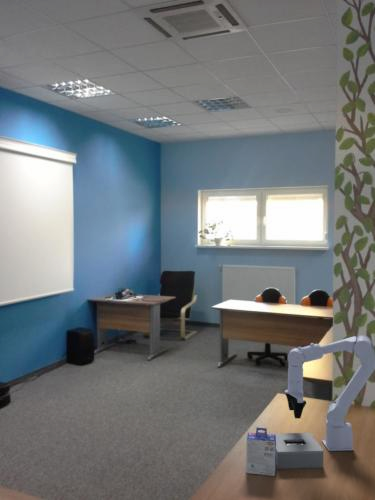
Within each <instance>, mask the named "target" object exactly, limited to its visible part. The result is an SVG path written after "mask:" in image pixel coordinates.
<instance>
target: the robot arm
mask: <svg viewBox="0 0 375 500" xmlns="http://www.w3.org/2000/svg"><path fill="white" fill-rule="evenodd" d="M342 351H343V352H344V351H346V352H348V353H350V354H353V353H354V354H355V355H356V357H358V359H359V362H360V365H359V367H358V368H357V369H356V371H355V372H354V374H353V376H352V377H351V378H350V380H349V381H348V383H347V384H346V386H345V387H344V389H343V390H342V391H341V393H340V395H339V396H338V397H336V399H335V400H334V401H333V402H331V403H330V404H329V405H328V406H327V414H326V420H325V439H322V440H321V442H322V443H323V446H325V448H326V449H327V450H328V452H336V451H337V452H338V451H339V452H341V451H343V452H344V451H354V447H353V446H354V431H353V426H352V424H351V423H350V422H346V419H345V418H346V415H347V413H348V412H349V410H350V407H351V405H352V404H353V402H354V400H355V399H356V398H357V397H358V395H359V393H360V392H361V391H362V389H363V387H364V386H365V385H366V383H367V381H368V380H369V379H370V377H371V376H372V374H373V373H374V371H375V347H374V344H373V341H372V340H371V338H370V337H369V336H367V335H365V334H364V335H363V334H361V335H357V336H355V335H354V336H350V337H346V338H344V339H339V340H337V341H334V342H330V343H326V344H324V345H321V344H319V343H314V342H311V343H310V345H306V346H304V347H303V346H302V347H301V346H298V347H297V348H296V347H294V348H292V349H291V350H289V353H288V355H287V357H286V358H287V362H288V368H287V389H285V390H284V394H285V397H286V400H287V405H288V410H289V411H293V415H294V419H301V418H302V414H303V411H304V408H305V407H306V405H307V401H306V400H304V368H303V363H309V362H313V361H316V360H320V359H323V356H325V355H327V354H332V353H337V352H338V353H339V352H342ZM353 351H354V352H353Z"/></svg>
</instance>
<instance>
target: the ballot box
mask: <svg viewBox="0 0 375 500" xmlns="http://www.w3.org/2000/svg"><path fill="white" fill-rule="evenodd" d="M272 434H273V435H276V469H278V470H281V469H282V470H283V469H285V470H287V469H289V470H290V469H311V468H312V469H313V468H314V469H315V468H317V469H320V468H321V469H322V468H323V469H324V449H323V448H322V447H321V445H320V444H319V442H318V441H317V439H316V438H315V437H314V436H313V435H314V434H312V432H292V433H291V432H290V433H289V432H288V433H286V432H285V433H284V432H282V433H272ZM286 443H303V444H293V445H286Z"/></svg>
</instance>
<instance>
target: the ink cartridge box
mask: <svg viewBox="0 0 375 500" xmlns="http://www.w3.org/2000/svg"><path fill="white" fill-rule="evenodd" d="M255 429H256V430H255V432H248V433H247V436H246V474H251V475H253V474H254V475H262V476H269V477H270V476H271V477H275V476H276V470H277V466H276V435H273V434H274V433H268V428H266V427H265V428H263V427H256V428H255ZM259 431H264V432H259Z"/></svg>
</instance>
